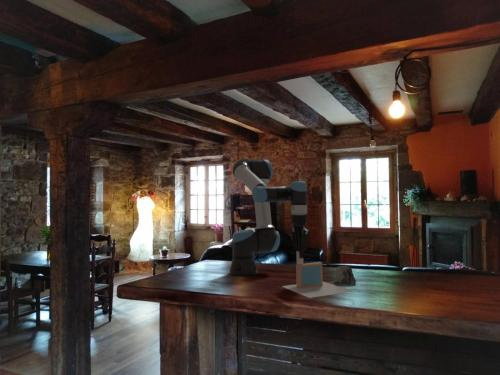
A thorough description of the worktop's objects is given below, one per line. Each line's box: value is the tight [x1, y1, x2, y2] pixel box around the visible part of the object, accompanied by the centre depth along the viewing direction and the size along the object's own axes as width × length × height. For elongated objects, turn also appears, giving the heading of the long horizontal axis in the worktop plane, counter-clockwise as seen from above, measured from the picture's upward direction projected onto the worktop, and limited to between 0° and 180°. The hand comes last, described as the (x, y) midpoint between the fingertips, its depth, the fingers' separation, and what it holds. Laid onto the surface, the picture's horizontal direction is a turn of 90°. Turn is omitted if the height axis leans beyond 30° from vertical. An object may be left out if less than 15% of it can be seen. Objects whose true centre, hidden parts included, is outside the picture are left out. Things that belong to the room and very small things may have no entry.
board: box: [281, 281, 354, 299], centre depth 159 cm, size 22×22×1 cm
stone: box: [333, 265, 357, 286], centre depth 171 cm, size 10×10×10 cm
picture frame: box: [295, 261, 324, 289], centre depth 163 cm, size 3×12×10 cm, turn 115°
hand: (300, 264), depth 170 cm, fingers closed
